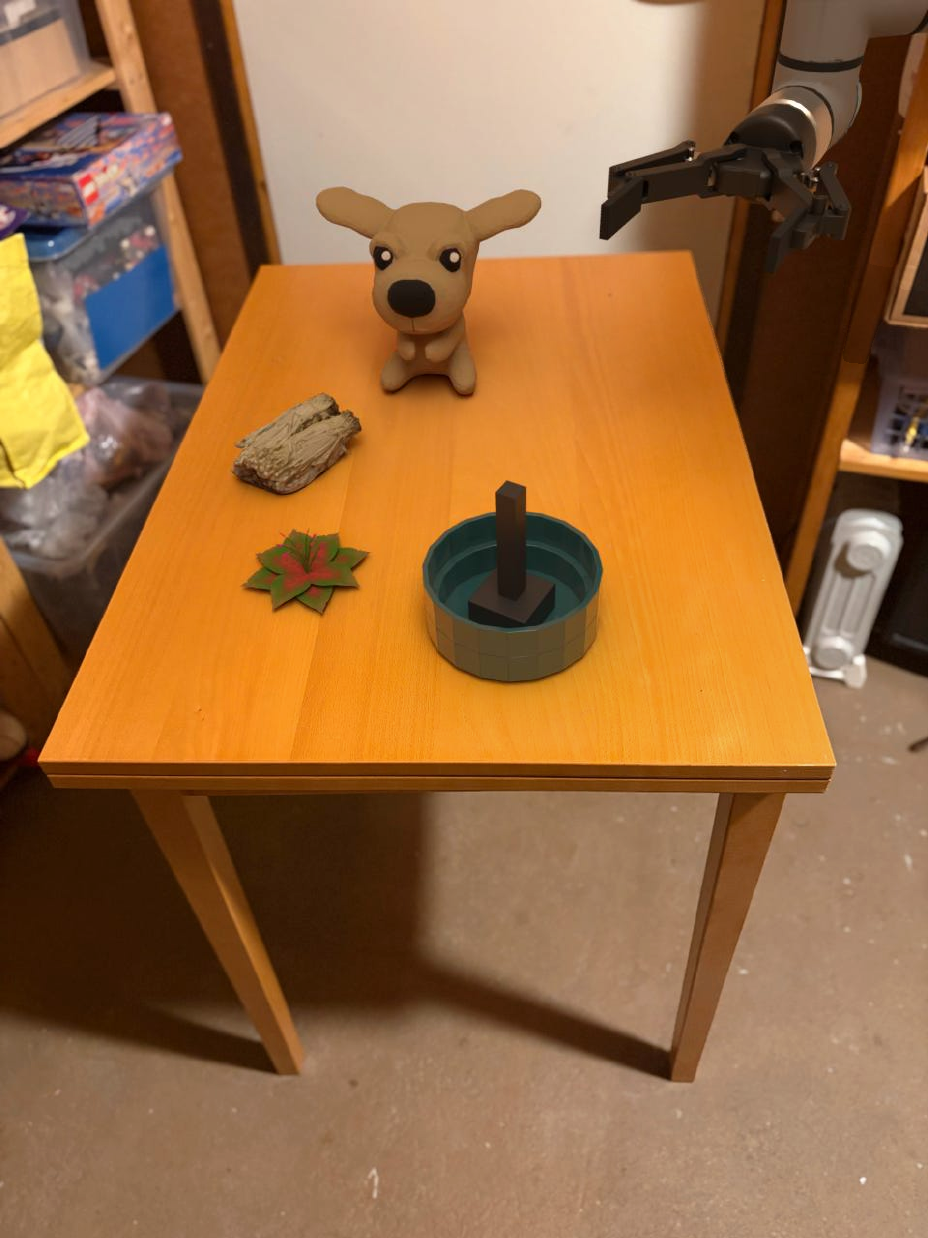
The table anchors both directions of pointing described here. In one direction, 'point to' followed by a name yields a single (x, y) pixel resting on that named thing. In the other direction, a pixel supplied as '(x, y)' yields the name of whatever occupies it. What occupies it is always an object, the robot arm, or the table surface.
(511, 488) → the post on square base
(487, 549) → the bowl
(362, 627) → the table surface
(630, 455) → the table surface
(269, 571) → the lily flower
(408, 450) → the table surface
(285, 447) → the weathered wood chunk
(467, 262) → the toy
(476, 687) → the table surface
